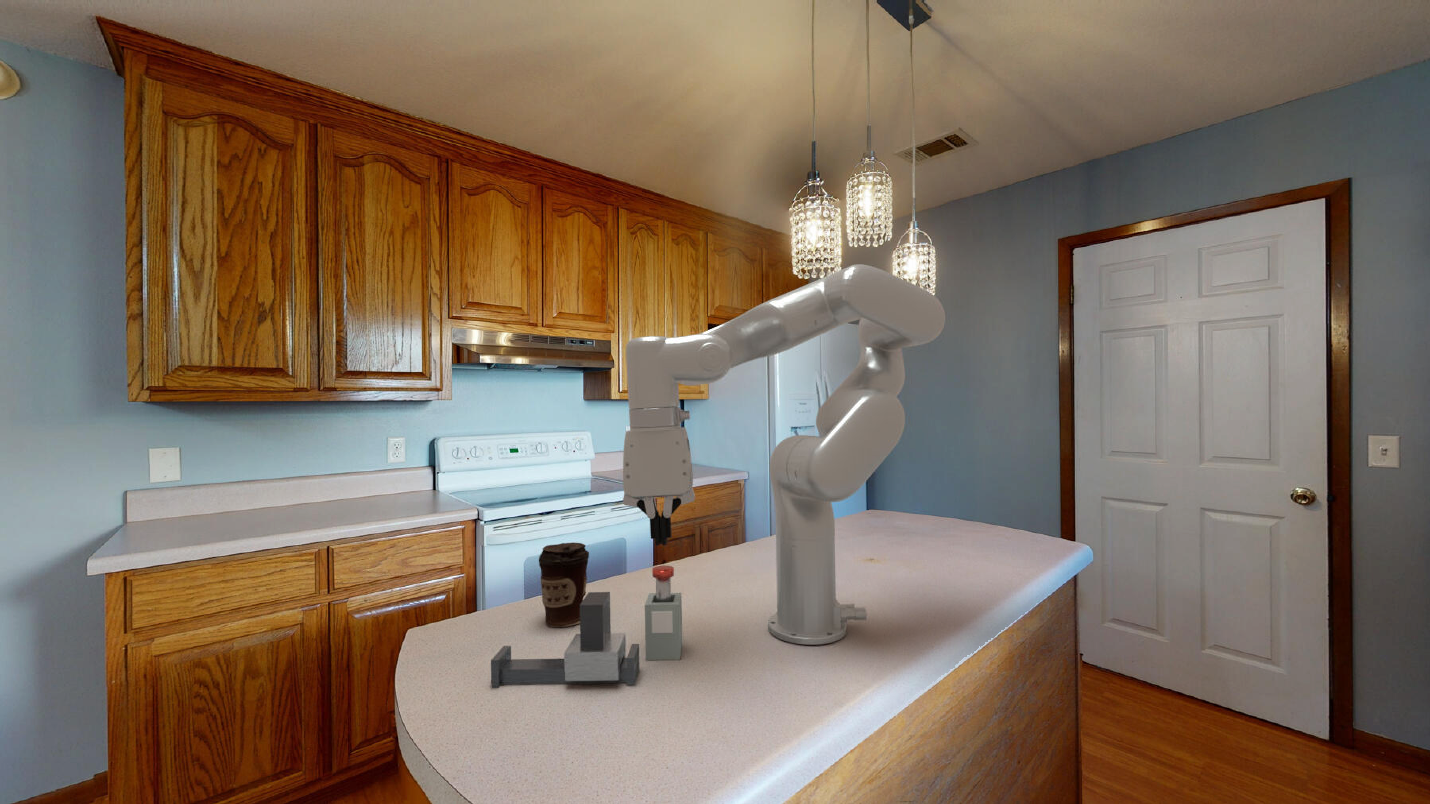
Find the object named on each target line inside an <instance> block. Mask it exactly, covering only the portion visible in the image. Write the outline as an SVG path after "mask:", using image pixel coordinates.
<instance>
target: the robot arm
mask: <svg viewBox="0 0 1430 804" xmlns="http://www.w3.org/2000/svg"><path fill="white" fill-rule="evenodd" d="M855 321H859V323H858V331H857V332H858V339H859V340H858V341H859V344H860V357H859V362H858V363H857V365H856V367H855V368H854V369H853V370H852V371H851V373H850V374H849V375H848V376H847V377H846V378H845V379H844V380H843V381H842V383H841V384H840V385H838V387H837V388H836V389H835V390H834V391H833V392H832V393H831V395H829V396H828V397H827V398H826V400H825V401H824V402H823V403H822V405H821V406H820V408H819V409H818V411H817V415H816V419H815V425H816V429H817V431H818V434H819V435H820V436H818V435H817V436H816V435H806V434H799V435H792V436H788V437H786V438H785V439H783V440H781V441H780V442H779V443H778V444H777V445H776V446H775V448H774V449H773V452H772V454H771V457H770V461H769V476H770V483H771V489H772V493H773V494H772V495H773V500H774V501H773V502H774V512H775V557H776V558H775V560H776V563H775V564H776V601H777V602H776V609H777V612H776V613H774V614H772V615H770V616H769V618H768V620H767V629H768V631H769V632H770V634H771V635H772V636H774V637H775V638H777V639H779V640H782V641H783V642H787V643H792V644H797V645H807V646H808V645H809V646H812V645H815V646H816V645H818V646H819V645H825V644H831V643H834V642H837V641H839V640H840V639H842V638H844V636H846V633H847V622H848V621H849V620H854V621H867V619H868V616H867V609H866V607H856V606H855V604H854V603H845V604H844V603H843V604H841V603H840V602H839V601H838V599H837V589H836V588H837V587H836V586H837V585H836V584H837V583H836V538H835V537H836V532H835V531H836V528H835V527H836V526H835V514H834V509H833V504H832V503H837V502H842V501H845V500H846V499H848V498H850V497H851V496H853V495H854V494H855V493H856V492H857V491H858V490H859V489H861V488H862V487H863V485H864V484H865V483H866V482H867V481H868V479H869V478H870V477H871V476H872V475H873V473H874V472H875V471H876V470H877V469H878V468H879V466H881V464H882V463H883V462H884V461H885V459H886V458H887V456H889V455H890V453H892V451H893V450H894V448H895V447H896V446H897V445H898V443H899V442H900V439H902V435H903V433H904V429H905V425H906V424H905V422H906V415H905V414H906V413H905V409H904V406H903V404H902V403H901V401H900V399H899V398H898V395H899V394H900V392H901V391H902V389H903V387H904V384H905V380H906V379H905V378H906V371H905V363H904V362H905V361H904V356H903V352H902V348H909V347H915V346H920V345H926V344H927V343H930V342H933V341H934V340H935V339H936V338H937V337H938V336H939V335H940V334H941V333H942V331H943V329H944V328H945V327H944V326H945V324H946V312H945V309H944V307H943V305H942V303H941V302H940V300H939V298H937V297H936V296H935V295H934V294H932V293H931V292H930V291H928V290H926V289H925V288H922V287H920V286H918V285H915V284H914V283H911V282H909V281H907V280H905V279H903V278H901V277H899V276H896V275H895V274H892V273H890V272H888V271H886V270H883V269H880V268H878V267H875V266H871V265H869V264H868V265H867V264H862V263H860V264H857V263H856V264H852V265H849V266H848V267H845V268H843V269H841V270H838V271H836V272H834V273H832V274H829V275H827V276H824V277H821V278H819V279H816V280H815V281H813V282H809V283H808V284H805V285H803V286H800V287H798V288H796V289H794V290H791V291H789V292H786V293H784V294H781V295H779V296H777V297H774V298H771V299H769V300H767V301H765V302H763V303H760V304H758V305H756V306H755V307H753V308H751V309H749V310H747V311H746V312H744V313H743V314H741V315H738V316H737V317H735V318H733V319H731V320H729V321H726V322H724V323H722V324H720V325H717V326H716V327H713V328H711V329H708V330H707V331H703V332H701V333H696V334H691V335H683V336H675V337H667V336H662V335H661V336H660V335H650V336H649V335H648V336H640V337H639V336H638V337H634V338H632V339H630V340H629V341H628V342H627V343H626V346H625V359H626V360H625V362H626V379H627V397H628V415H629V416H628V417H629V430H626V431H625V434H624V443H623V444H624V445H623V453H622V454H623V456H622V457H623V459H622V461H623V462H622V487H623V492H624V494H623V499H622V503H623V506H628V507H632V508H638V509H639V510H641V512H643V514H645V516H647V518H648V519H649V531H650V539H652V540H654V546H657V547H658V546H660V545H662V546H667V543H668V539H669V538H670V539H671V538H672V517H671V516H672V515H673V514H674V513H675V511H676V510H677V509H678V508H679V507H681V506H682V505H685V504H689V503H692V502H695V500H696V494H695V491H694V488H693V485H694V484H693V482H694V480H693V479H694V478H693V474H694V473H693V463H692V455H691V447H690V440H689V435H688V431H687V428H686V427H681V426H682V425H681V424H682V423H683V422H684V421H686V420H690V419H691V417H690V416H691V415H690V410H684V409H681V407H680V393H679V392H680V391H679V387H680V386H679V384H681V385H683V386H689V387H690V386H691V387H692V386H698V385H707V384H713V383H715V382H717V381H719V380H721V379H722V378H724V377H725V376H726V374H728V373H729V371H730V369H732V368H736V367H738V366H740V365H743V364H745V363H748V362H752V361H754V360H758V359H763V358H767V357H771V356H774V355H778V354H780V353H783V352H785V351H789V350H791V349H793V348H795V347H797V346H799V345H801V344H803V343H805V342H807V341H810V340H811V339H815V338H816V337H819V336H820V335H822V334H825V333H827V332H830V331H832V330H834V329H837V328H839V327H840V326H843V325H845V324H847V323H851V322H855ZM655 498H664V499H663V510H662V511H661V514H660V511H658V510H657V509H658V508H657V504H656V499H655Z"/></svg>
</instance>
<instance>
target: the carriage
mask: <svg viewBox="0 0 1430 804" xmlns="http://www.w3.org/2000/svg"><path fill="white" fill-rule="evenodd" d="M611 628H612V627H611V592H610V591H589V592H587V593H586V595H585V596H584V598H583V601H582V603H581V604H580V623H579V631H580V633H575V635H574V636H573V638H572V640H571V642H570V643H569V645H568V646H567V648H566V649H565V650H564V652H563V653H564V654H563V655H564V658H563V659H564V665H565V681H603V680H619V677H620V665H621V662H622V659H623V658H627V656H626V652H627V651H626V650H627V649H626V647H627V645H626V642H627V641H626V637H627V636H626V632H613V633H612V632H611Z"/></svg>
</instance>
